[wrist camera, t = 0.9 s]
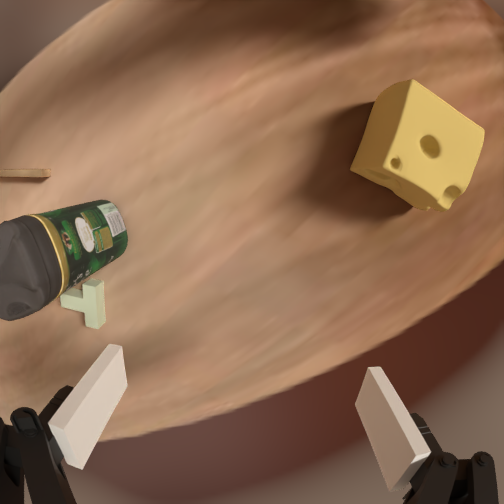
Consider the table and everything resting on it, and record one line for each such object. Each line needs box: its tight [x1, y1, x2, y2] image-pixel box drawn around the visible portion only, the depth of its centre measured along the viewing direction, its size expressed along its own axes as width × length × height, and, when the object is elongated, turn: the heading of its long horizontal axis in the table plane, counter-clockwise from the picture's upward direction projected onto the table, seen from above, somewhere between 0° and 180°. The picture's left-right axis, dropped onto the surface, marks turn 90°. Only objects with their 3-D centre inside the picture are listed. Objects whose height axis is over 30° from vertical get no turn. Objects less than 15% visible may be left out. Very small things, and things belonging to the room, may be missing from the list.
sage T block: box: [60, 278, 106, 329], centre depth 35 cm, size 6×6×2 cm
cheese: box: [350, 79, 484, 212], centre depth 27 cm, size 10×11×10 cm
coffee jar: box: [0, 200, 128, 321], centre depth 25 cm, size 10×8×19 cm
